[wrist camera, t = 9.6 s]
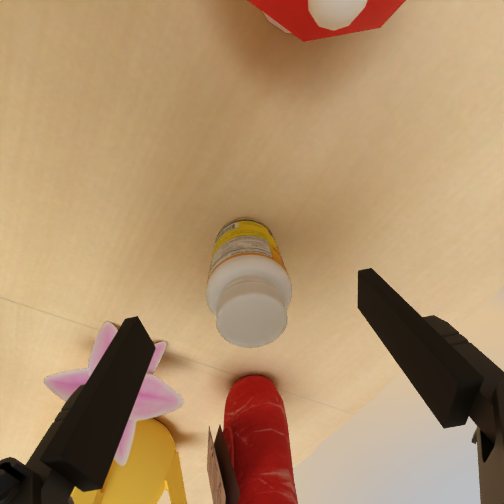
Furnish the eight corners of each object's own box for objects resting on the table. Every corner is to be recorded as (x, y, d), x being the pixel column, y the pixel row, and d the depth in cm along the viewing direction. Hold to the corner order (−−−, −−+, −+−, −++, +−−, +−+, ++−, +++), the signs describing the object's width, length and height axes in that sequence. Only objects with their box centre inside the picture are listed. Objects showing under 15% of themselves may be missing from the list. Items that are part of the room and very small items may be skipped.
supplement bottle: (267, 272, 23) (287, 361, 14) (212, 265, 22) (195, 354, 13) (280, 221, 21) (316, 288, 12) (219, 210, 20) (205, 274, 11)
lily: (201, 364, 30) (196, 412, 21) (128, 433, 29) (87, 519, 19) (138, 298, 29) (104, 316, 20) (59, 365, 28) (-21, 420, 18)
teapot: (122, 389, 30) (59, 528, 19) (206, 436, 37) (194, 559, 26) (45, 435, 34) (-42, 572, 23) (134, 470, 41) (98, 589, 30)
